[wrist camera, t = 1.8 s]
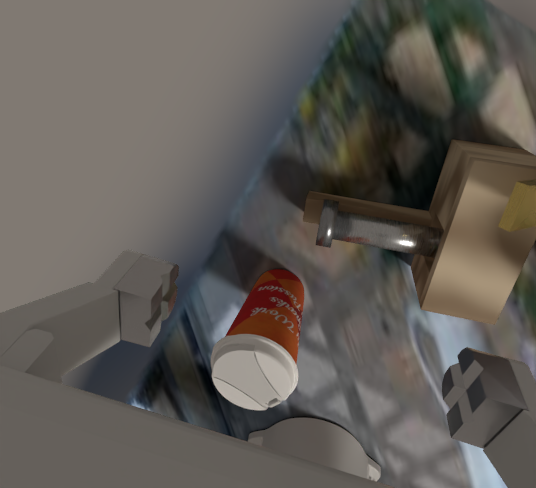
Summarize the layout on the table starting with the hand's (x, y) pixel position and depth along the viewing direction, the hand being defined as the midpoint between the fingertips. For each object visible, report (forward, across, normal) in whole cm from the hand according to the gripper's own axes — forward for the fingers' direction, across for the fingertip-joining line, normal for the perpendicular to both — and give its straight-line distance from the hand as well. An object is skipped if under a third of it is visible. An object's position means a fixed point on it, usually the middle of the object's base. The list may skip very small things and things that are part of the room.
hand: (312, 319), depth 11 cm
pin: (+25, +6, -9) cm, 27 cm away
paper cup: (+26, -1, -22) cm, 34 cm away
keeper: (+18, +14, -1) cm, 22 cm away
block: (+27, +8, -8) cm, 29 cm away
